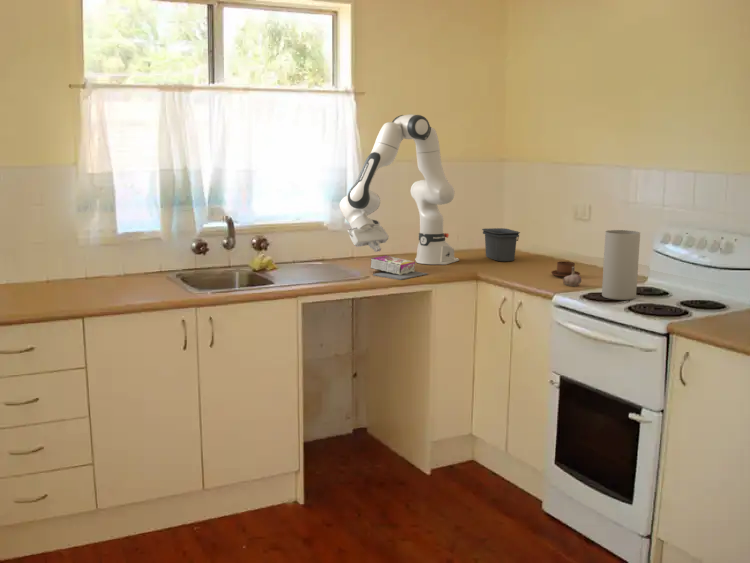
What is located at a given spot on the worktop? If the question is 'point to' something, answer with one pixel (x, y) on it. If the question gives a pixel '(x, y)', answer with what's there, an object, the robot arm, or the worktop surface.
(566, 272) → the cup and saucer
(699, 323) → the worktop surface
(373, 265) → the candy bar box
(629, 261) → the cylinder vase
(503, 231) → the storage bin
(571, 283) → the garlic bulb
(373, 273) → the walnut kerb
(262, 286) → the worktop surface
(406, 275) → the rubber mat
